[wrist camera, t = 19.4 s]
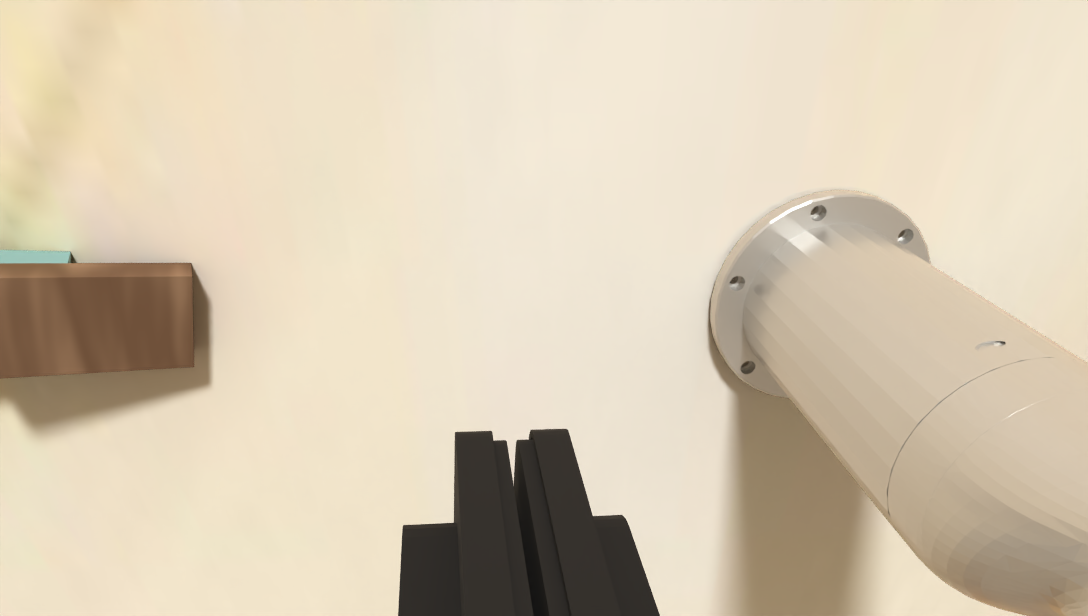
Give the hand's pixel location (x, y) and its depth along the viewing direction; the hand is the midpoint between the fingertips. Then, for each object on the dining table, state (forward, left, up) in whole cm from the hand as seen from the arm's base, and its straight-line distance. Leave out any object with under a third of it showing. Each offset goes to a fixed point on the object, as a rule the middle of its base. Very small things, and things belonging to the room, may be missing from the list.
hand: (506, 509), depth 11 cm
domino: (+11, +12, -26) cm, 31 cm away
